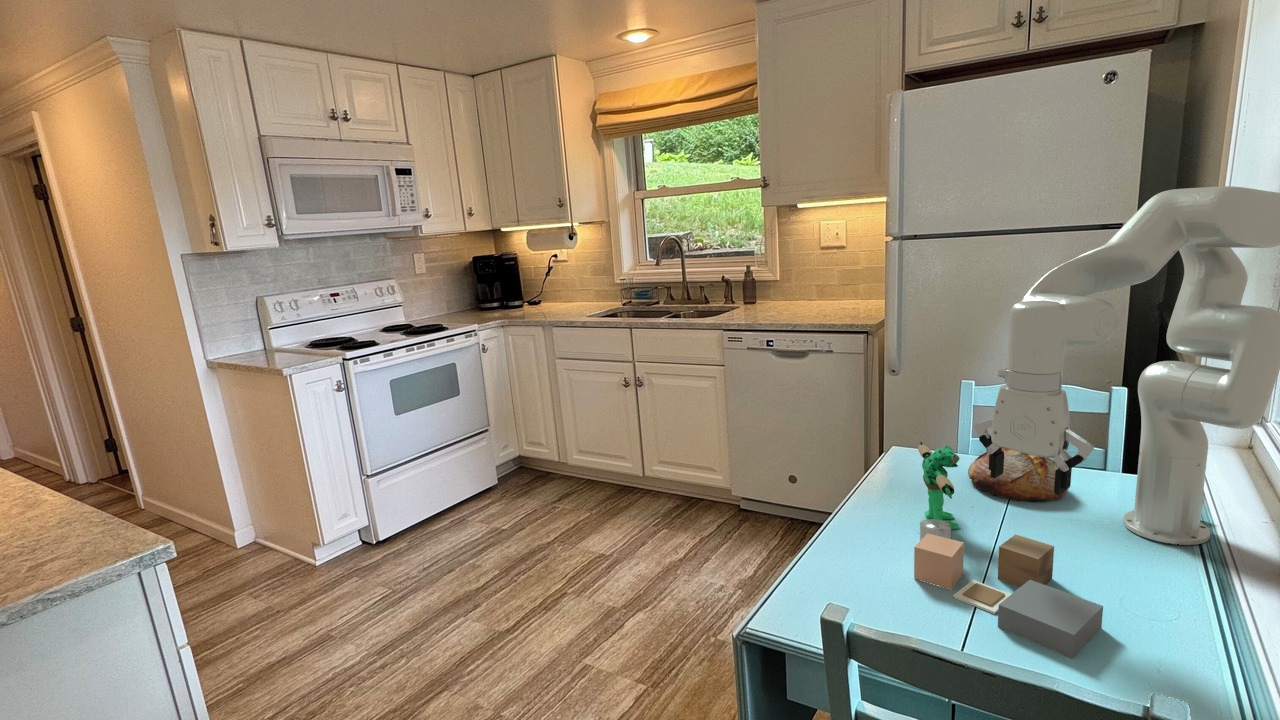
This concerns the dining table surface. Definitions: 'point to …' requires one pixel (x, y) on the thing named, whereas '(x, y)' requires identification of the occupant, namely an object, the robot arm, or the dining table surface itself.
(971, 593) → the card
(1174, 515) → the robot arm
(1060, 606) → the base block
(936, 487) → the toy
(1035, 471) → the bread
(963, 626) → the dining table surface
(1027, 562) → the walnut cube
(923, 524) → the grey tin
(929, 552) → the terracotta cube
